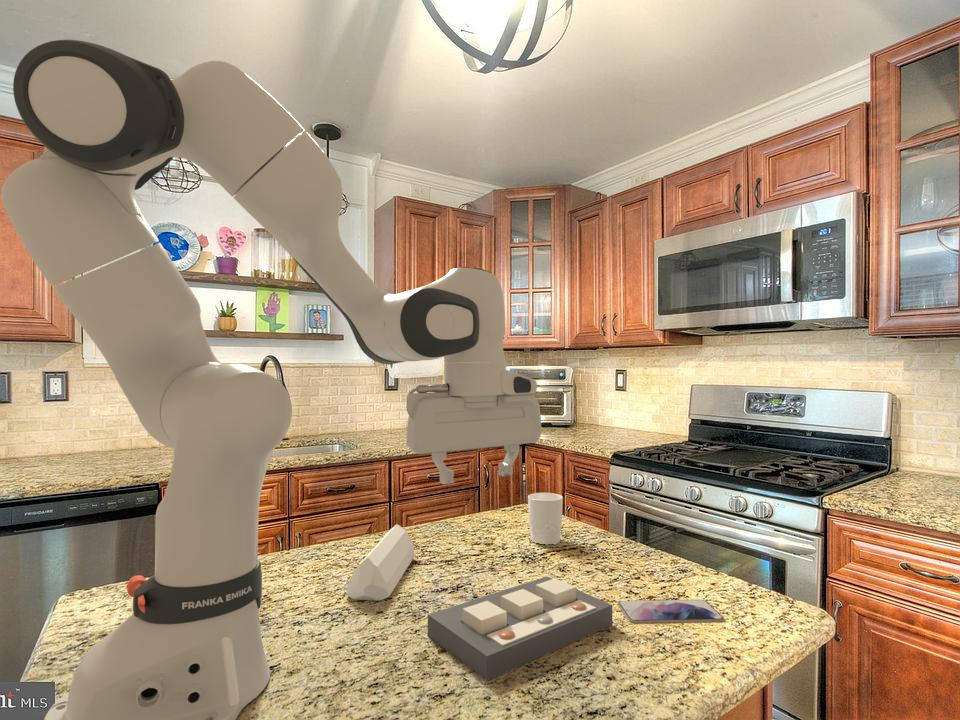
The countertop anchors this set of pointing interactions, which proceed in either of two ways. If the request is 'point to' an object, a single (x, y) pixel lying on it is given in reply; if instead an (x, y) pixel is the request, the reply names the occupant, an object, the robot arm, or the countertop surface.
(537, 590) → the button right
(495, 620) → the button left
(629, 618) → the smartphone
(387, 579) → the beige chamfered bar
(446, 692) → the countertop surface
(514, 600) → the button middle
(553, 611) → the button board
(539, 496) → the white cup
